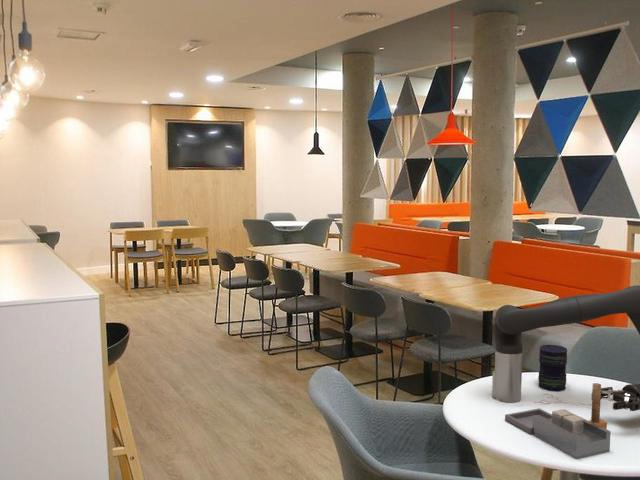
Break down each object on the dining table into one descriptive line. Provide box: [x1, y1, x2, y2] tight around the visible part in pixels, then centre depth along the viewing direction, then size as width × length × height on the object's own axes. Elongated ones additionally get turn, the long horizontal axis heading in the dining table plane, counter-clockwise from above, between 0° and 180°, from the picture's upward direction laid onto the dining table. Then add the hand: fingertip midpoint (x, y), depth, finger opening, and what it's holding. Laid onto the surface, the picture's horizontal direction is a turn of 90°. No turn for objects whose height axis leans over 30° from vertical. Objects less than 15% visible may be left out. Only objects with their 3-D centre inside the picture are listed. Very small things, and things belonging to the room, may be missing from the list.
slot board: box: [532, 409, 612, 460], centre depth 187 cm, size 18×12×6 cm
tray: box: [504, 408, 552, 435], centre depth 201 cm, size 12×14×2 cm
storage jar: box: [537, 344, 568, 393], centre depth 234 cm, size 10×10×15 cm
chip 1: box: [551, 409, 572, 428], centre depth 190 cm, size 4×4×4 cm
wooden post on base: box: [588, 382, 608, 430], centre depth 195 cm, size 3×6×15 cm, turn 112°
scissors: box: [533, 393, 592, 410], centre depth 219 cm, size 11×1×20 cm
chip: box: [563, 414, 585, 434], centre depth 186 cm, size 4×4×4 cm
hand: (603, 401), depth 196 cm, fingers open, 8 cm apart
